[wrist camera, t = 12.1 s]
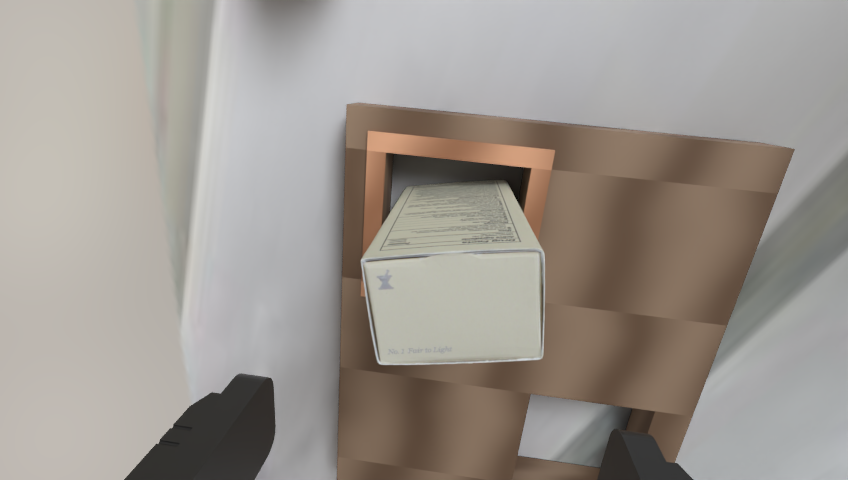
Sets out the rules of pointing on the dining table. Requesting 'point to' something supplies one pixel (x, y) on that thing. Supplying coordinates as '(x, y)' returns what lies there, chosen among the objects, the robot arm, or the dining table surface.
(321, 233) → the dining table surface
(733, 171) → the socket board
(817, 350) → the dining table surface
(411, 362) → the skincare box
